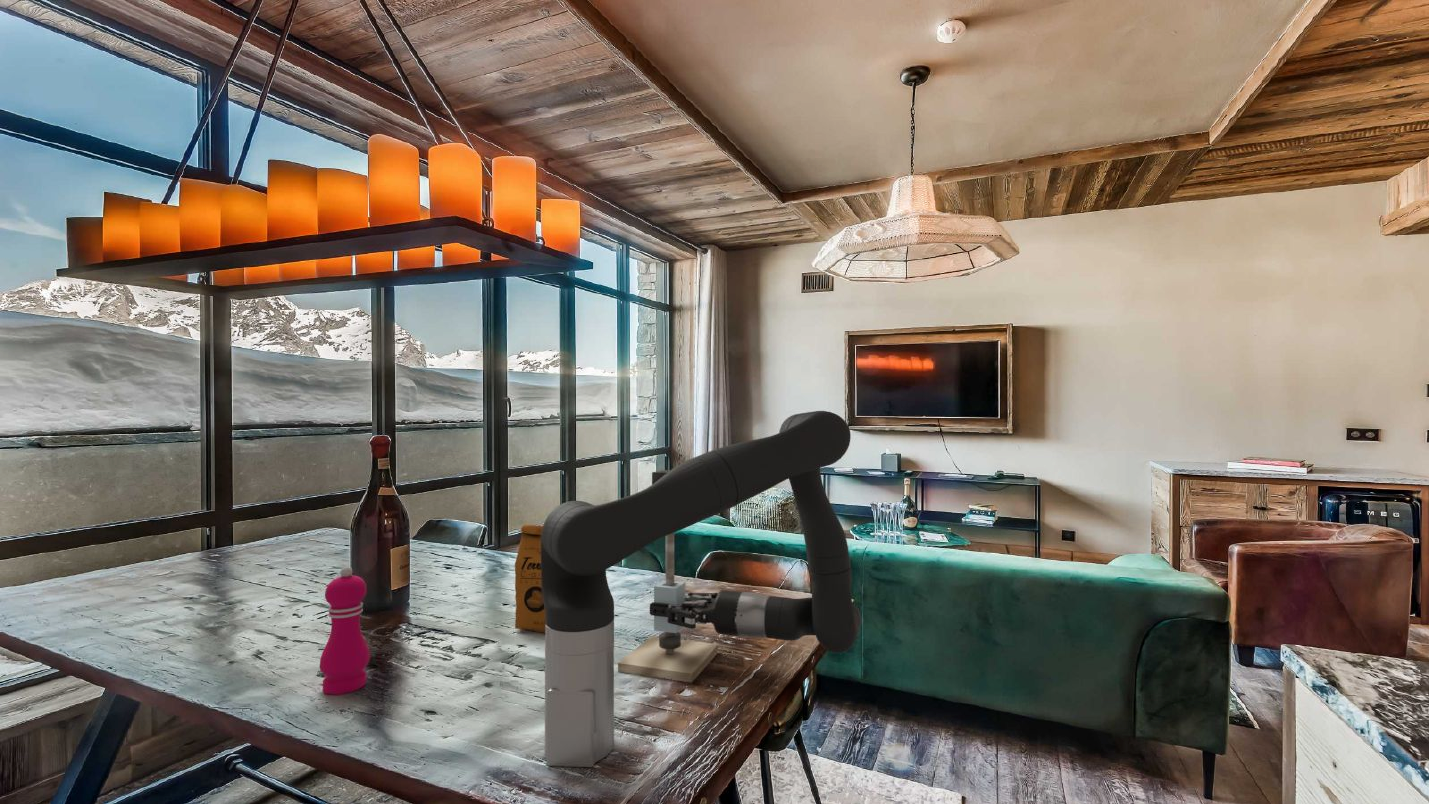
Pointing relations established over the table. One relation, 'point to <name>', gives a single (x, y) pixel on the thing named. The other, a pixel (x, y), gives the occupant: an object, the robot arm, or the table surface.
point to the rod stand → (668, 641)
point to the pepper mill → (345, 636)
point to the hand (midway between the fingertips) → (656, 604)
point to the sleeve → (668, 597)
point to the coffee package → (529, 581)
